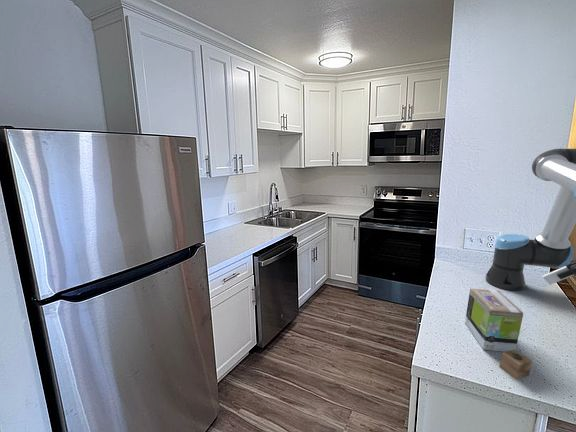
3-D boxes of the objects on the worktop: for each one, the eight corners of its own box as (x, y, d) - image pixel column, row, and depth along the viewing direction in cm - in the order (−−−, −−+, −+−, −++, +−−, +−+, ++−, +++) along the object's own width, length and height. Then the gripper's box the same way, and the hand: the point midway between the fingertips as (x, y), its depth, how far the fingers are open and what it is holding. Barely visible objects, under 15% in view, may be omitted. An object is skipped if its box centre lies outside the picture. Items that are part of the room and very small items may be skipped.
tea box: (516, 353, 94) (525, 312, 91) (482, 350, 96) (489, 310, 92) (493, 325, 109) (499, 289, 105) (463, 323, 110) (468, 287, 106)
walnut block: (511, 363, 90) (514, 348, 89) (528, 375, 86) (532, 360, 84) (499, 367, 89) (502, 352, 88) (516, 379, 84) (519, 364, 83)
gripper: (668, 259, 67) (555, 299, 82) (655, 244, 76) (556, 283, 92) (639, 232, 69) (534, 277, 84) (630, 221, 79) (537, 262, 94)
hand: (546, 280), depth 88 cm, fingers closed
